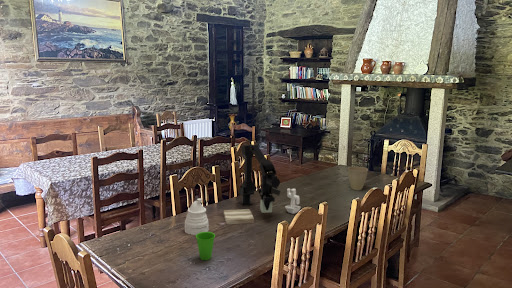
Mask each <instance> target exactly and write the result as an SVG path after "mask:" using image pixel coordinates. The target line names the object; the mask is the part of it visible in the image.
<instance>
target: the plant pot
mask: <svg viewBox="0 0 512 288" xmlns="http://www.w3.org/2000/svg"><path fill="white" fill-rule="evenodd" d="M368 172H369V168H367V167H364V166H349V167H347V176H348V180H349V185H350V188H351V190H353V191H362V190H363V187H364V185H365V182H366V179H367V176H368Z"/></svg>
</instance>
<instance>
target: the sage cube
mask: <svg viewBox="0 0 512 288" xmlns="http://www.w3.org/2000/svg"><path fill="white" fill-rule="evenodd" d="M259 210H260V213H262V214H263V213H264V214H265V213H272V212H273V202H271V203H270V205H269V209H268V210H266V208H265V205H264V202H263V200H261V199H260V203H259Z"/></svg>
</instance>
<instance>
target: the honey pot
mask: <svg viewBox="0 0 512 288" xmlns="http://www.w3.org/2000/svg"><path fill="white" fill-rule="evenodd" d="M202 201H203V198H197V199H196V200H194V201H193V202H192V203H191V205H190V207H189V208H188V209H187V214H186V217H185V220H184V232H185V233H186V234H188V235H190V234H191V235H192V236H196V235H197V234H198V233H200V232H209V219H208V216H207V213H206V212H207V208H206V207H204V206H203V205H202ZM191 235H190V236H191Z"/></svg>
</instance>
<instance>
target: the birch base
mask: <svg viewBox="0 0 512 288" xmlns="http://www.w3.org/2000/svg"><path fill="white" fill-rule="evenodd" d="M223 217H224V221H225V223H226V225H235V224H236V225H240V224H254V223H255V218H254V216H253V214H252V211H251V209H248V208H247V209H224V210H223Z"/></svg>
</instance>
